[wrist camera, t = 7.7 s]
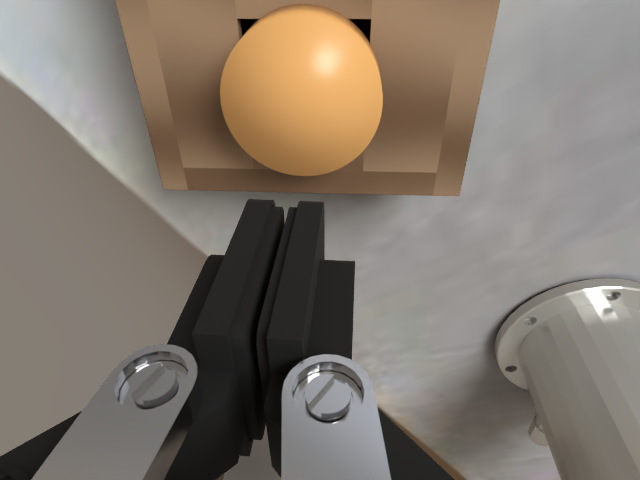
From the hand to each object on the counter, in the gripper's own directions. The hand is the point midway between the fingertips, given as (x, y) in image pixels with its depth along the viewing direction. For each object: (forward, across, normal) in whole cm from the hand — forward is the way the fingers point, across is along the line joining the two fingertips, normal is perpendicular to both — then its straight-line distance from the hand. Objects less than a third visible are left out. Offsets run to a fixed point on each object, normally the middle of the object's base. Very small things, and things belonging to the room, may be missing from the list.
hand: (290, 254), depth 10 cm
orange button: (+14, +1, -1) cm, 14 cm away
